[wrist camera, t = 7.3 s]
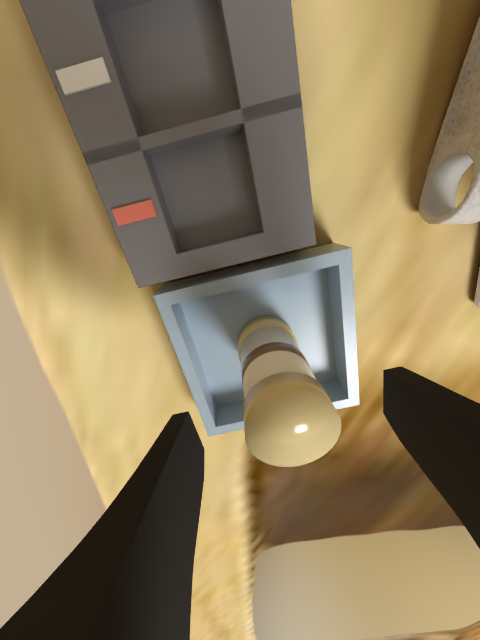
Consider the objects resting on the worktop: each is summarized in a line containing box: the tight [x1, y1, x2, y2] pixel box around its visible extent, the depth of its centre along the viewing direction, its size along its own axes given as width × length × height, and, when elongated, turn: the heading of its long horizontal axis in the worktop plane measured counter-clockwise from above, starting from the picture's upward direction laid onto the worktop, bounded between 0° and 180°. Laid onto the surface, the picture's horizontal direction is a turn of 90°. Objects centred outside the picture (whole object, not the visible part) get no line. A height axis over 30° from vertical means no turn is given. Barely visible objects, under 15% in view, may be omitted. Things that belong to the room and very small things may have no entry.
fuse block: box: [19, 0, 316, 288], centre depth 10 cm, size 8×10×2 cm
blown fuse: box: [237, 315, 341, 467], centre depth 11 cm, size 3×3×6 cm
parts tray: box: [153, 243, 359, 436], centre depth 14 cm, size 9×9×2 cm
